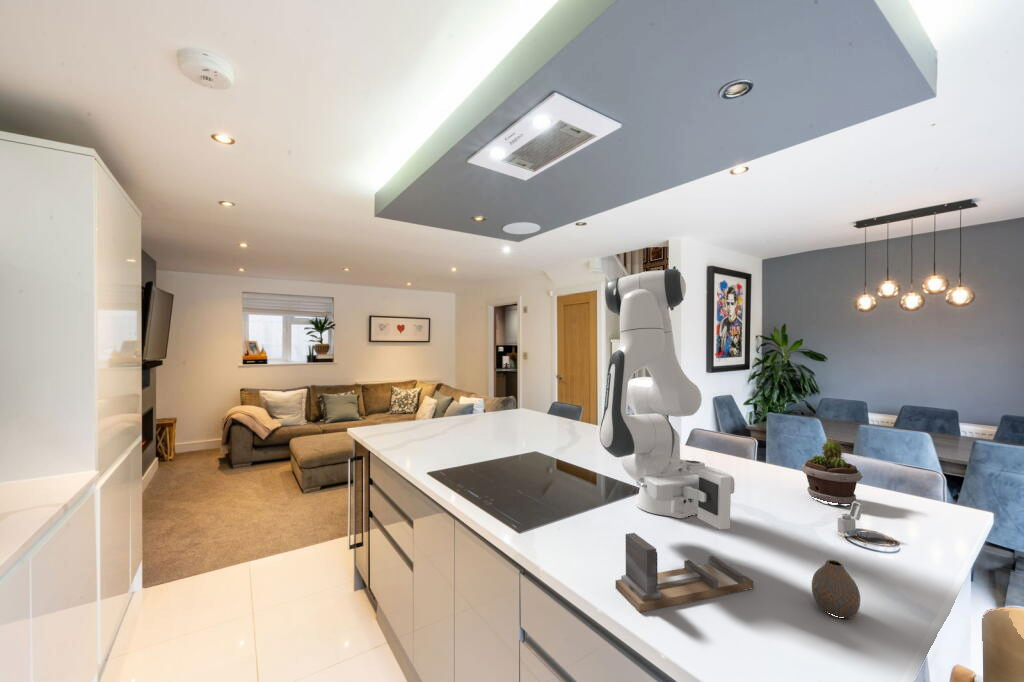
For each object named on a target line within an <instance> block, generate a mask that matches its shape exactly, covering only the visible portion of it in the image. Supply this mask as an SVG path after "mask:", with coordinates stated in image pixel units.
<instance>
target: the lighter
mask: <svg viewBox="0 0 1024 682" xmlns="http://www.w3.org/2000/svg"><path fill="white" fill-rule="evenodd" d="M850 506H851V507H850V509H849V513H842V514H841V517H837V533H838V532H840V533H843V534H845V533H846V532H847V531H851V530H856V529H857V528H856V527H857V526H856V521H860V519H861V515H862V512H863V510H864V504H862V503H860V502H857V501H853V503H852V504H851V505H850Z"/></svg>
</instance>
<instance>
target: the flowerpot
mask: <svg viewBox="0 0 1024 682" xmlns="http://www.w3.org/2000/svg"><path fill="white" fill-rule="evenodd" d="M836 440H837V439H835V440H834V438H832V437H830V438H828V439H826V440H823V442H822V444H823V445H822V446H821V452H820V454H822V455H818V454H815V455H814V454H812V458H810V459H807V460H806V461H805V462H804V463H803V464H802V465H801V469H802V472H803V473H804V474H805V475H806V480H807V483H808V486H807V491H808V494H809V495H810V497H811V498H812V497H814V498H817V499H820V500H823V501H827V502H832V503H838V504H839V505H840V504H851V503H853V501H854V502H856V501H857V496H856V494H855V490H856V488H857V482H860V481H862V478H863V475H862V474H861V472H860V471H859V470H858V467H857V466H856V465H853V464H851V463H848V462H846V459H845V458H843V456H844V454H845V453H844V452H842V451H843V446H842V445H841V444H840V442H838V441H836ZM851 505H852V504H851Z"/></svg>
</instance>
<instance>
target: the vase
mask: <svg viewBox="0 0 1024 682" xmlns="http://www.w3.org/2000/svg"><path fill="white" fill-rule="evenodd" d="M811 593H812V595H813V600H814V601H815V603H816V604H817V606H818V607H819V608H820V609H821V610H822V609H823V610H824V611H826V612H828V613H830V614H833V615H835V616H838V617H844V618H849V619H851V618H853V617H854V616H855V615H857V613H858V612H859V611H860V606H861V594H860V590H859V587H858V585H857V583H856V582H855V580H854V578H853V577H852V576H851V575H850V574H849V572H848V571H847V570H846V568H845V567H844V564H843V563H842V562H840V561H837V560H834V559H827V560H826V561H825V562H824V564H823V565H822V566H820V567H819V568H818V569H817V570H816V571H815V572H814V573H813V577H812V579H811ZM823 610H822V611H823ZM824 611H823V612H824ZM850 617H851V618H850Z"/></svg>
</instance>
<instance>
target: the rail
mask: <svg viewBox="0 0 1024 682" xmlns="http://www.w3.org/2000/svg"><path fill="white" fill-rule="evenodd" d="M707 558H708V563H704V564H698V565H697V564H696V563H694V562H693V561H691V560H690V559H687V560H683V566H684V568H677V569H671V570H666V571H665V570H664V571H660V572H658V552H657V548H656V547H655V546H654V545H652V544H650V543H649V542H647V540H645V539H644V538H643V537H641V536H640V535H638V534H637V533H635V532H631V533H625V574H623V575H621V577H620V579H615V589H616V590H617V591H618V592H619V593H620V594H621V595H622V596H623V598H625V599H626V601H628V602H629V604H630V605H631V606H633V608H634V607H635V608H636V609H637V610H636V611H637V612H638V613H644V612H648V611H653V610H657V609H663V608H666V607H667V608H668V607H672V606H677V605H682V604H687V603H692V602H697V601H701V600H706V599H710V598H715V596H716V597H720V595H721V596H725V595H724V594H726V595H729V594H728V593H730V594H734V593H733V592H735V593H739V592H738V591H740V592H743V591H742V590H745V589H750V588H753V589H754V580H753V579H751V578H749V577H747V576H746V575H745V574H744V573H741V572H739V571H738V570H737V569H735V568H733V567H732V566H730V565H728V564H727V563H725V562H724V561H722V560H720V559H719V558H717V557H715V556H714V555H709V556H708V557H707ZM750 590H751V589H750ZM745 591H746V590H745Z"/></svg>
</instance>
